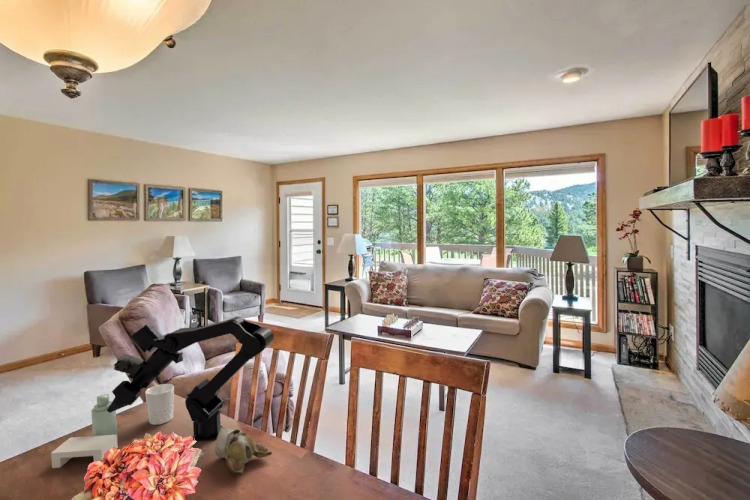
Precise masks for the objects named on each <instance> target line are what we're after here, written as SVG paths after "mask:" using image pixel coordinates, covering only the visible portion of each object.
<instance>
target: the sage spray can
mask: <svg viewBox="0 0 750 500" xmlns="http://www.w3.org/2000/svg"><path fill="white" fill-rule="evenodd" d="M112 401H113V400H112ZM112 401H110V394H109V393H103V394H99V395H98V396H96V404H95V405H94V406H93V408H92V409H91V424H92V426H91V427H92V436H102V435H117V436H118V427H117V410H115V411H113V412H111V413H109V412H108V411H107V409H108V408H109V406H110V405H111V403H112Z"/></svg>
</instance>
